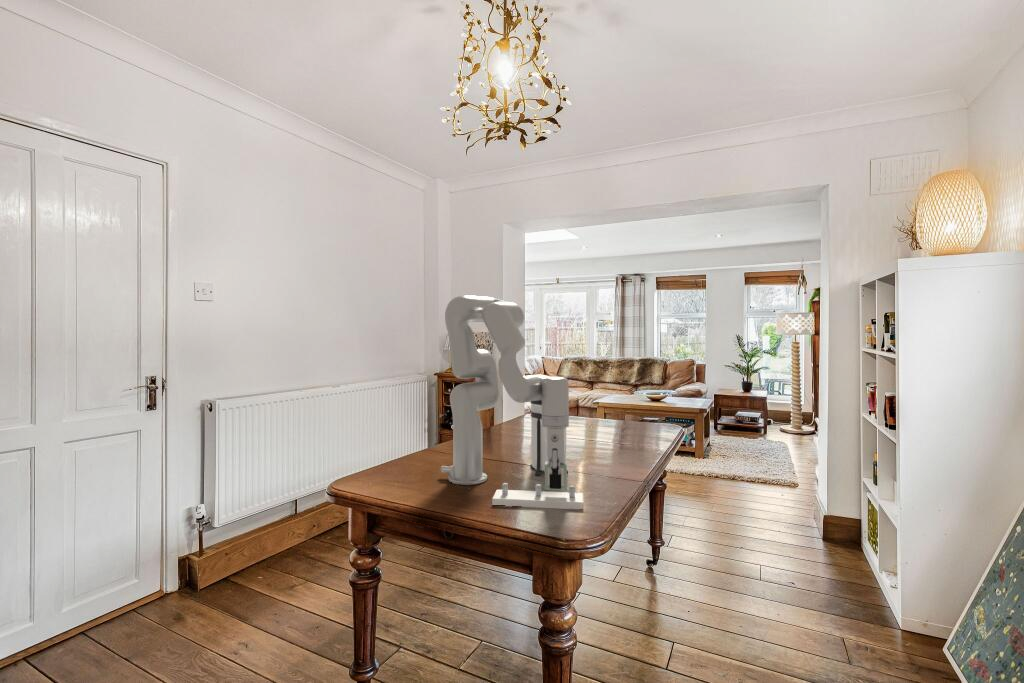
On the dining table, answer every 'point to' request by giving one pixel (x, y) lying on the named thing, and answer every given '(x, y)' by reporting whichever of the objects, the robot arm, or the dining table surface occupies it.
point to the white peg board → (538, 498)
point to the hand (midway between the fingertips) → (555, 485)
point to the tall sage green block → (562, 471)
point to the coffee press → (538, 439)
